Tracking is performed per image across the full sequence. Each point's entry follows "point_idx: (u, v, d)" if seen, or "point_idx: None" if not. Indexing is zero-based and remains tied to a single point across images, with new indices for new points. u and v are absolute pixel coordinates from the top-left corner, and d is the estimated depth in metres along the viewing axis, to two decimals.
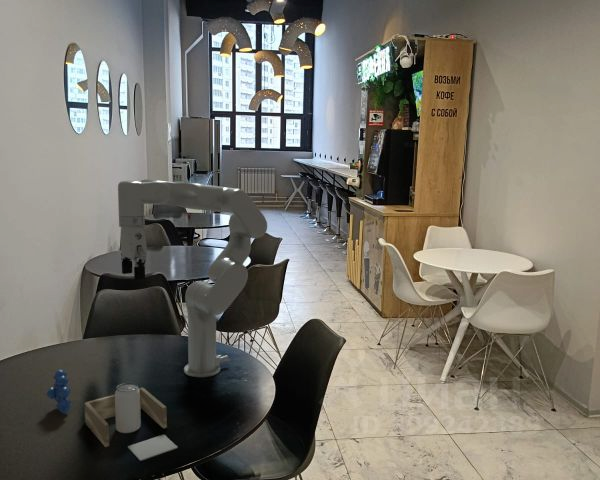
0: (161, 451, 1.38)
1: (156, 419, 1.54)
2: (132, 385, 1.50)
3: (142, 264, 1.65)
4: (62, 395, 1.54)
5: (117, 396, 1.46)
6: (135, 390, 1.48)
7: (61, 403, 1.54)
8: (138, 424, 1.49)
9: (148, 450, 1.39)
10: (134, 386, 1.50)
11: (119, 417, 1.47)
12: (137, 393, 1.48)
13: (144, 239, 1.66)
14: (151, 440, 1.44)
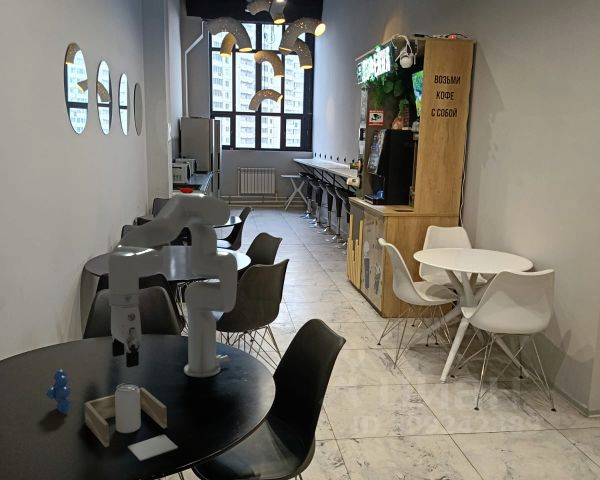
0: (161, 451, 1.38)
1: (156, 419, 1.54)
2: (132, 385, 1.50)
3: (135, 350, 1.41)
4: (62, 395, 1.54)
5: (117, 396, 1.46)
6: (135, 390, 1.48)
7: (61, 403, 1.54)
8: (138, 424, 1.49)
9: (148, 450, 1.39)
10: (134, 386, 1.50)
11: (119, 417, 1.47)
12: (137, 393, 1.48)
13: (138, 320, 1.43)
14: (151, 440, 1.44)
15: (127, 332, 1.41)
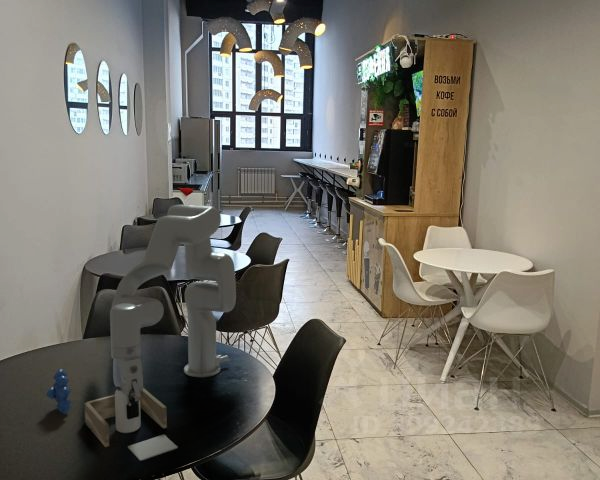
0: (161, 451, 1.38)
1: (156, 419, 1.54)
2: None
3: (135, 402, 1.45)
4: (62, 395, 1.54)
5: (117, 396, 1.46)
6: None
7: (61, 403, 1.54)
8: (138, 424, 1.49)
9: (148, 450, 1.39)
10: None
11: (119, 416, 1.47)
12: None
13: (140, 371, 1.45)
14: (151, 440, 1.44)
15: (129, 384, 1.43)
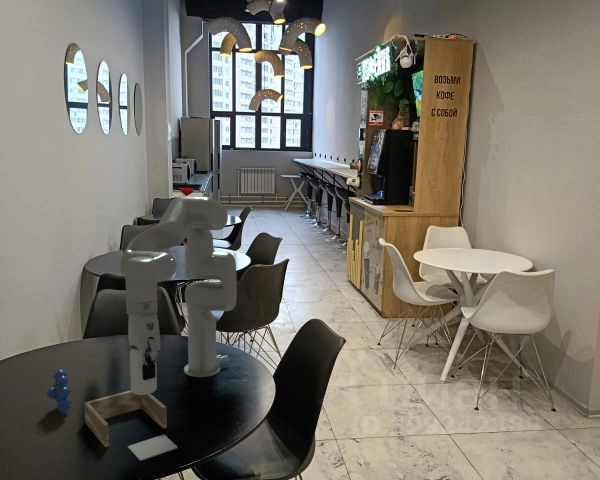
0: (161, 451, 1.38)
1: (156, 419, 1.54)
2: None
3: (152, 362, 1.36)
4: (62, 395, 1.54)
5: (132, 355, 1.37)
6: None
7: (61, 403, 1.54)
8: (154, 386, 1.40)
9: (148, 450, 1.39)
10: None
11: (134, 377, 1.38)
12: None
13: (157, 329, 1.36)
14: (151, 440, 1.44)
15: (145, 342, 1.34)
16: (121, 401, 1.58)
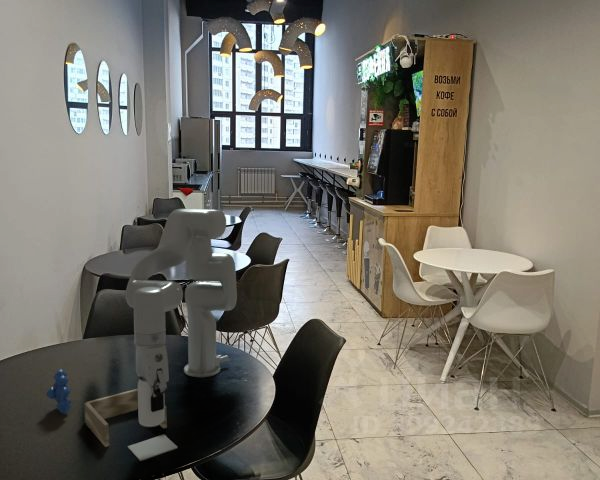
0: (161, 451, 1.38)
1: None
2: None
3: (161, 394, 1.34)
4: (62, 395, 1.54)
5: (140, 386, 1.35)
6: None
7: (61, 403, 1.54)
8: (162, 417, 1.38)
9: (148, 450, 1.39)
10: None
11: (142, 409, 1.36)
12: None
13: (165, 360, 1.34)
14: (151, 440, 1.44)
15: (154, 374, 1.33)
16: (121, 401, 1.58)
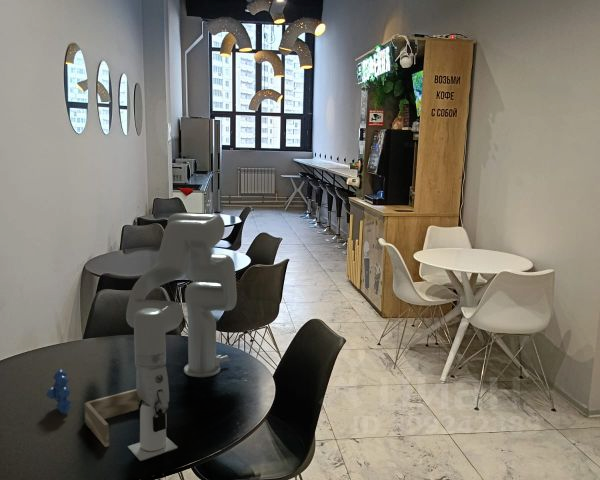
0: (161, 451, 1.38)
1: None
2: None
3: (163, 414, 1.34)
4: (62, 395, 1.54)
5: (142, 411, 1.37)
6: None
7: (61, 403, 1.54)
8: (164, 442, 1.40)
9: None
10: None
11: (144, 433, 1.37)
12: None
13: (166, 381, 1.35)
14: None
15: (155, 395, 1.34)
16: (121, 401, 1.58)
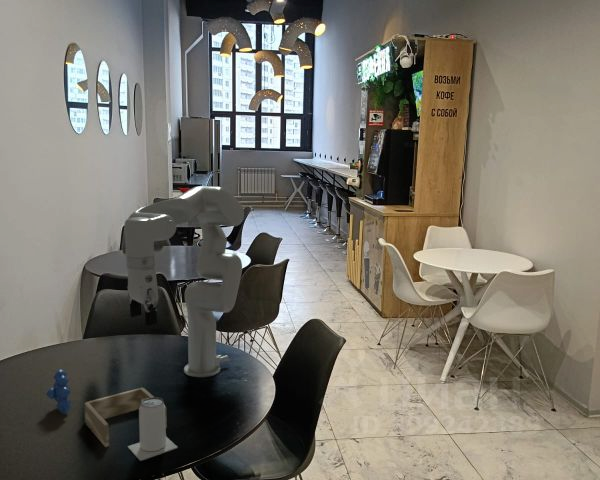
0: (161, 451, 1.38)
1: None
2: (157, 400, 1.41)
3: (154, 309, 1.50)
4: (62, 395, 1.54)
5: (141, 412, 1.37)
6: (160, 406, 1.38)
7: (61, 403, 1.54)
8: (163, 442, 1.40)
9: None
10: (159, 401, 1.40)
11: (143, 434, 1.37)
12: (162, 409, 1.38)
13: (155, 281, 1.51)
14: None
15: (145, 293, 1.50)
16: (121, 401, 1.58)
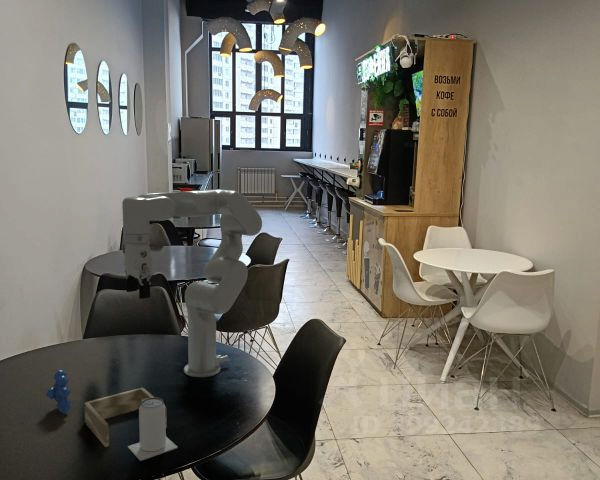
0: (161, 451, 1.38)
1: None
2: (157, 400, 1.41)
3: (147, 283, 1.60)
4: (62, 395, 1.54)
5: (141, 412, 1.37)
6: (160, 406, 1.38)
7: (61, 403, 1.54)
8: (163, 442, 1.40)
9: None
10: (159, 401, 1.40)
11: (143, 434, 1.37)
12: (162, 409, 1.38)
13: (149, 257, 1.61)
14: None
15: (140, 267, 1.60)
16: (121, 401, 1.58)
